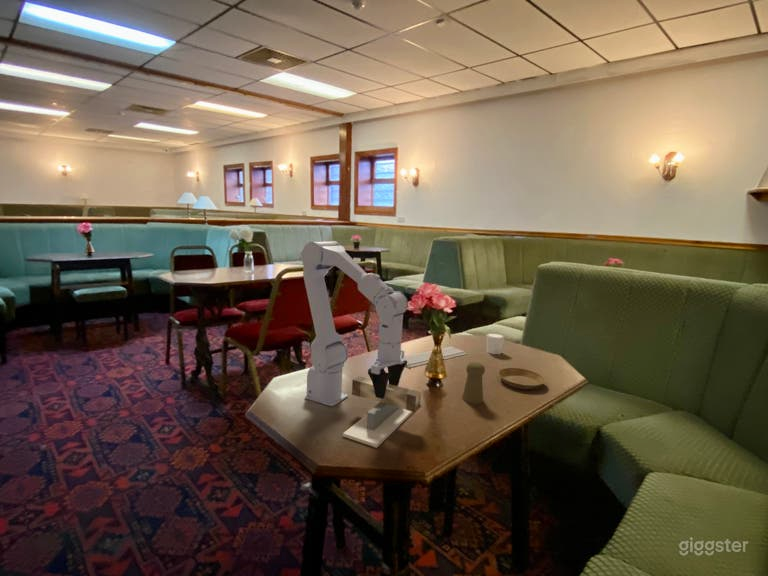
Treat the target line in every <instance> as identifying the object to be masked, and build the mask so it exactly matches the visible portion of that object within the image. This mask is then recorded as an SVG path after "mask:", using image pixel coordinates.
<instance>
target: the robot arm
mask: <svg viewBox="0 0 768 576" xmlns="http://www.w3.org/2000/svg"><path fill="white" fill-rule="evenodd" d="M300 257H301V260H302V261H301V262H302V266H303V268H302V269H303V270H302V275H303V280H304V286H305V289H306V295H307V299H308V300H307V301H308V304H309V308H310V313H311V318H312V323H313V328H314V332H315V338H314V339H313V341H312V342H311V344H310V350H311V354H310V362H311V366H310V368H309V369H308V372H307V375H306V395H305V396H304V398H305V399H307V400H309V401H313V402H316V403H319V404H323V405H326V406H329V407H334V406H335V405H337V404H338V403H340V402H342V401H343V400H345V399H346V398H348V394H346V393H344V392H343V390H342V389H343V370H344V369H343V368H344V367H345V363H347V361H348V359H349V355H350V352H349V349H348V347H347V345H346V344H345V341H344V338H343V337H344V336H342V335H341V334H339V333H338V332H337V331H336V326H335V323H334V318H333V313H332V308H331V304H330V298H329V295H328V289H327V285H326V281H325V276H326V275H327V273H328V272H329V270H331V269H332V268H333V267H337V268H338V269H339V270H341V271H342V272H343V273H344V274H345V275H346V276H348V277H349V278H351V279H352V281H354V282H356V284H357V290H358V291H359V292H360V293H361V294H362V295H363V296H364V297H365V298H367V300H369V302H371V304H373V305H374V306H375V307H374V308H375V311H376V313H377V316H378V322H379V324H378V326H379V327H378V342H377V356H376V358H375V360H374V363H372V364H371V365H370V368H368V369H367V374H368V376H369V379H371V380H372V383H373V387H374V391H375V396H376V397H377V398H381V399H383V398H384V396H385V393H386V387H387V384H391V385H395V386H398V387H399V383H400V380H401V377H402V374H403V373H404V372H403V371H404V370H405V368H406V367H405V366H406V365H407V361H406V360H404V359H403V358H404V356H405V350H402V338H403V337H402V336H403V320H404V313H405V312H406V311H407V310H408V308H409V306H408V305H409V302H408V298H407V297H406V296H405V294H404V293H403V292H402V291H400V290H399V291H398V290H397V291H395V290H394V288H393V287H391V286H390V285H387V284H386V283H385V282H384V281H383V280H382V279H381V276H380V275H379V274H378V273H373V272H370V273H369V272H368V273H367V272H366V271H365V269H363V268H362V267H361V266H360V265H359V264H358V263H357V262H356V261H355V260H354V259H353V258H352V257H351V256H350V255H349V253H347V252H346V249H345V247H344V246H342V245H341V244H340V243H339V242H338V241H335V240H329V241H308V242H307V243H306V244H305V245H304V247H303V249H302V250H301V252H300ZM385 368H387V372H386V370H385Z"/></svg>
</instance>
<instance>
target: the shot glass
mask: <svg viewBox="0 0 768 576" xmlns="http://www.w3.org/2000/svg"><path fill="white" fill-rule="evenodd" d="M504 340H505V336H504V335H503V334H499V333H495V332H494V333H491V332H490V333H486V352H487V353H488V354H491V355H495V354H498V355H501V354H502V349H503V344H504Z"/></svg>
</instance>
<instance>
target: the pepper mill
mask: <svg viewBox="0 0 768 576" xmlns="http://www.w3.org/2000/svg"><path fill="white" fill-rule="evenodd" d="M485 370H486V369H485V365H483V363H480V362H476V361H472V362H469V363H468V364H467V365H466V373H467V375H466V380H465V383H464V388H463V393H462V397H461V399H462V400H463V401H464V402H466V403H467V404H472V405H479V404H483V402H484V389H483V375H484V374H485Z"/></svg>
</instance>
